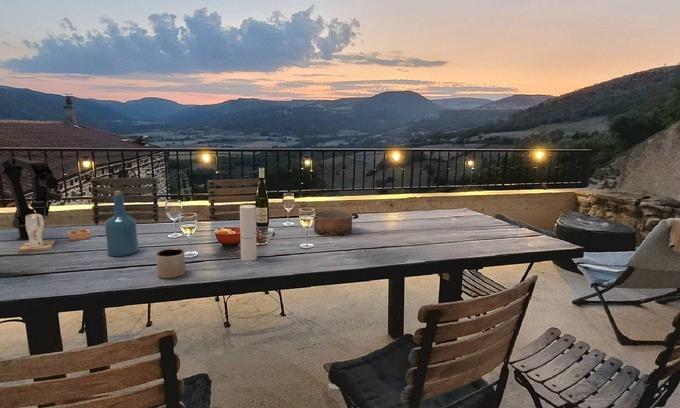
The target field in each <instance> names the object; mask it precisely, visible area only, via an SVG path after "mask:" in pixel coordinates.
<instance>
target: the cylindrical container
mask: <svg viewBox="0 0 680 408" xmlns="http://www.w3.org/2000/svg"><path fill="white" fill-rule="evenodd" d="M256 208H257V206H256V205H254V204H244V205H242V204H241V205H240V206H239V225H240V231H239V232H240V259H241V261H245V262H251V261H256V260H257V256H258V253H257V211H256Z"/></svg>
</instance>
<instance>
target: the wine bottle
mask: <svg viewBox="0 0 680 408" xmlns="http://www.w3.org/2000/svg"><path fill="white" fill-rule="evenodd" d="M112 198H113V200H112V202H113V206H114V207H113V209H114V210H113V211H114V215H113V216H111V217H109V218H108V219H107V220H105V224H104V229H105V239H106V240H105V241H106V250H107V254H108V255H109V256H112V257H125V256H130V255H134V254H135V253H136V254H137V252H138V251H139V241H138V238H139V237H138V229H137V228H138V227H137V222H136V220H135V217H134V216H132V215H130V214H128V213H126V210H125V202H124V201H125V200H124V195H123V193H122V191H121V190H115V191H114V194H113V197H112Z"/></svg>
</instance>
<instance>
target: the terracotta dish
mask: <svg viewBox="0 0 680 408" xmlns="http://www.w3.org/2000/svg"><path fill="white" fill-rule="evenodd" d="M78 231H81V232H82V233H79V234H76V232H78ZM66 233H67V239H68V240H69V241H70V242H78V241H83V240H89V239H92V237H91V232H90V230H89V229H88V228H82V229H75V230H74V229H73V230H67V232H66Z"/></svg>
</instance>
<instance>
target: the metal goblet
mask: <svg viewBox="0 0 680 408" xmlns="http://www.w3.org/2000/svg"><path fill="white" fill-rule="evenodd" d="M25 223H26V230H27V233H28V236H29V239H28V242H29V247H40V246H43V245H44V242H43V240H44V238H43V237H44V236H43V235H44V230H45V229H44V227H45V219H44V220H43V215H42V214H37V213H35V214H29V215H26V219H25Z"/></svg>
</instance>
